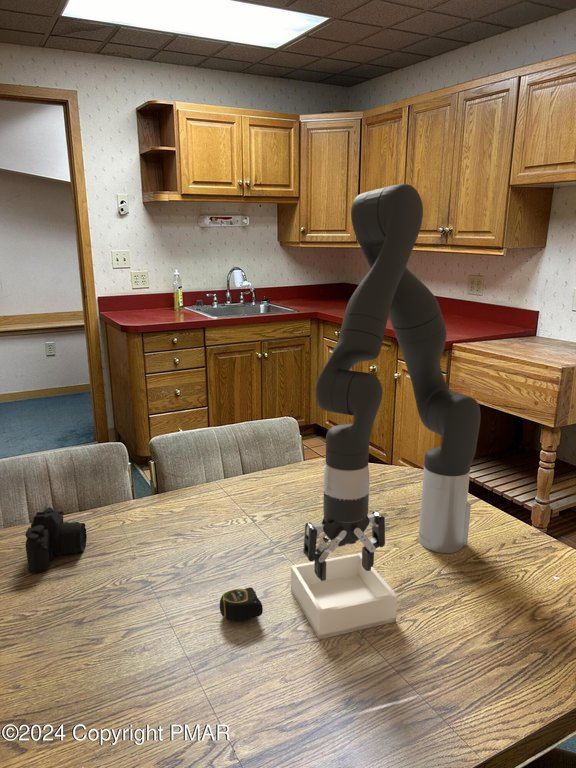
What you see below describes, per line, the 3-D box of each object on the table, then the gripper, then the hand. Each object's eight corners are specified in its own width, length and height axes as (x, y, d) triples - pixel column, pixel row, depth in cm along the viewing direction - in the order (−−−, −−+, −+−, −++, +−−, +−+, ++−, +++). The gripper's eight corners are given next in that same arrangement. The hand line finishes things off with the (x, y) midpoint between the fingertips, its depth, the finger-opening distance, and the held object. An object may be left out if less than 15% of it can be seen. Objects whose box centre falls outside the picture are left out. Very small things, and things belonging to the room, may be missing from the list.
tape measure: (264, 622, 94) (263, 600, 94) (223, 629, 93) (221, 607, 93) (256, 604, 101) (255, 583, 101) (218, 611, 99) (216, 590, 99)
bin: (359, 576, 109) (360, 552, 108) (395, 621, 96) (397, 595, 95) (290, 589, 105) (290, 565, 103) (319, 639, 92) (319, 612, 91)
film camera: (75, 574, 110) (71, 532, 107) (23, 577, 108) (17, 535, 106) (92, 534, 124) (88, 496, 122) (45, 536, 123) (41, 498, 121)
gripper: (374, 473, 100) (370, 554, 104) (298, 484, 96) (298, 569, 100) (395, 490, 93) (391, 577, 98) (314, 504, 89) (314, 594, 93)
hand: (344, 573), depth 99 cm, fingers open, 8 cm apart
